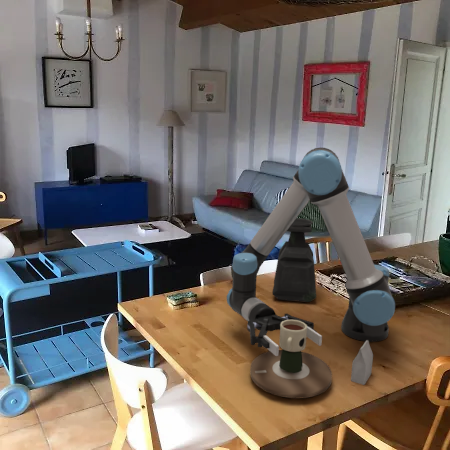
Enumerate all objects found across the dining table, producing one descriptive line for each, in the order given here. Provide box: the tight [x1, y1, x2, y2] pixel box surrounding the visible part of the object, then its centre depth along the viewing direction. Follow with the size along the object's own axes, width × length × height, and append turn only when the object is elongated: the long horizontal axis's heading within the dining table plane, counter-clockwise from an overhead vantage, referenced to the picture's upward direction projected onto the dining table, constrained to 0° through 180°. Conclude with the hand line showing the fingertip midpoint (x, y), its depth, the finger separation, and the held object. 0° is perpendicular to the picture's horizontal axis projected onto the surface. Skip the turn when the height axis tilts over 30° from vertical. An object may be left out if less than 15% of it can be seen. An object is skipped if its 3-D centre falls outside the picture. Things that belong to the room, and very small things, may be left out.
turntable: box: [249, 349, 333, 399], centre depth 133 cm, size 22×22×2 cm
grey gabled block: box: [350, 340, 374, 386], centre depth 135 cm, size 4×7×10 cm, turn 148°
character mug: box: [278, 320, 307, 373], centre depth 131 cm, size 11×7×13 cm, turn 161°
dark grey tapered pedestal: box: [272, 217, 317, 303], centre depth 189 cm, size 18×16×30 cm
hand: (299, 345), depth 128 cm, fingers open, 13 cm apart
